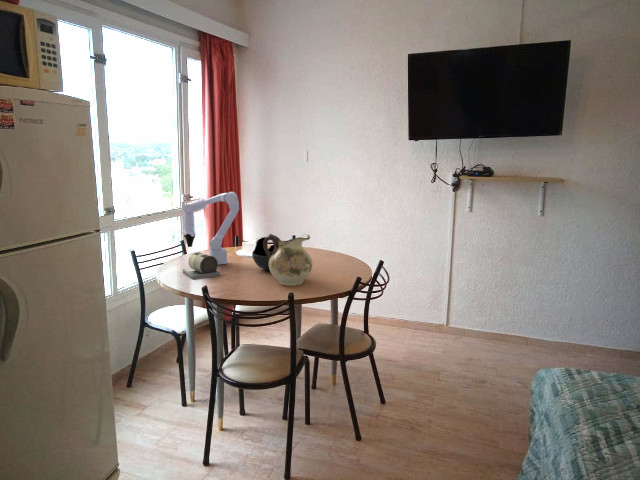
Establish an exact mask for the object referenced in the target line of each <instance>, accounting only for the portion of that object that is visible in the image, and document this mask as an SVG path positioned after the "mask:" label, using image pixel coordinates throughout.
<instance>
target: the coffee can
mask: <svg viewBox="0 0 640 480" xmlns="http://www.w3.org/2000/svg"><path fill="white" fill-rule="evenodd" d="M188 266H189V268H190V269H192V271H195V270H196V271H199V272H201V273H204V274H207V273H214V272H215V271H216V270H217V269H218V266H219V265H218V262H217V260H216V258H215V257H213V256H210V254H205V253H202V252H199V251H197V252H196V251H195V252H193V253H192V254H191V255H190V256H189V258H188ZM217 271H218V270H217Z"/></svg>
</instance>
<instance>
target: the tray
mask: <svg viewBox="0 0 640 480" xmlns="http://www.w3.org/2000/svg"><path fill="white" fill-rule="evenodd" d="M182 273H183V274H184V275H186V276H187V277H188V278H190V279H191V280H196V279H197V280H198V279H203V278H204V279H205V278H211V277H218V276H219V277H220V275H221V272H220V271H219V270H216V271H215V272H214V273H207V274H204V273H201V272H199V271H196V270H189V271H188V270H187V269H184V268H183V269H182Z"/></svg>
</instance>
